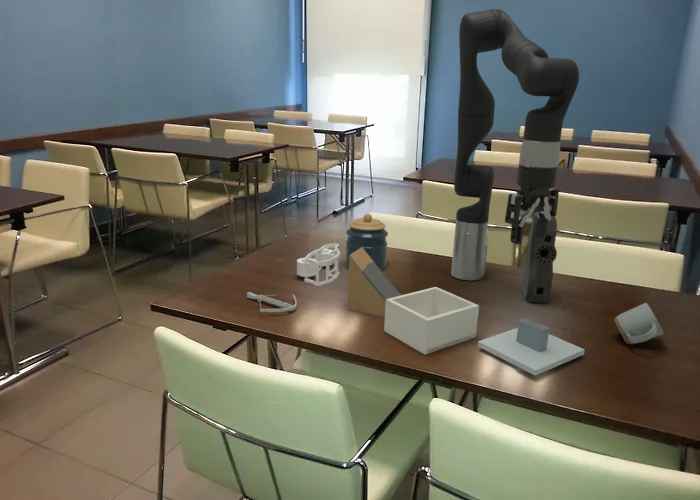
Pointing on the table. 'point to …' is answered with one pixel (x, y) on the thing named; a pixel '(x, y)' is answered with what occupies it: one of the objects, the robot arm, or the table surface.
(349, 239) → the canister
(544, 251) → the handheld device
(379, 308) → the sandwich container
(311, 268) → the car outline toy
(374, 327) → the table surface
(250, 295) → the crossbow
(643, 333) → the ceramic mug
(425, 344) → the box
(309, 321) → the table surface
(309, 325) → the table surface
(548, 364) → the lid
